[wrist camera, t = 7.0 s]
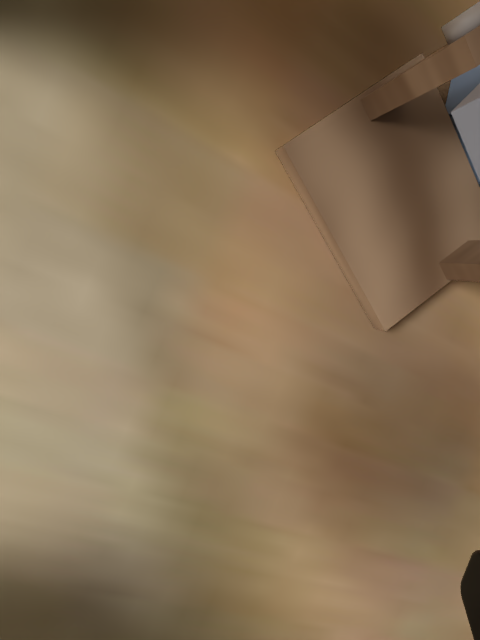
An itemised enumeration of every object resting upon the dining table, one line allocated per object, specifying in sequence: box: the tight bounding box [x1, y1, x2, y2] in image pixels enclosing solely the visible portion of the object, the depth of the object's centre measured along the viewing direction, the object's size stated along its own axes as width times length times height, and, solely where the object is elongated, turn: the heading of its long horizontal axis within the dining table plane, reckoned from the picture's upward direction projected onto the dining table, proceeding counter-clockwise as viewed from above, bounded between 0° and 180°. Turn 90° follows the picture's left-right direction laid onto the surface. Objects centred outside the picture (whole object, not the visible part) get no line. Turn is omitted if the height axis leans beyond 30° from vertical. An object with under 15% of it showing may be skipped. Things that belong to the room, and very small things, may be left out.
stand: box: [275, 1, 480, 331], centre depth 18 cm, size 8×11×7 cm
